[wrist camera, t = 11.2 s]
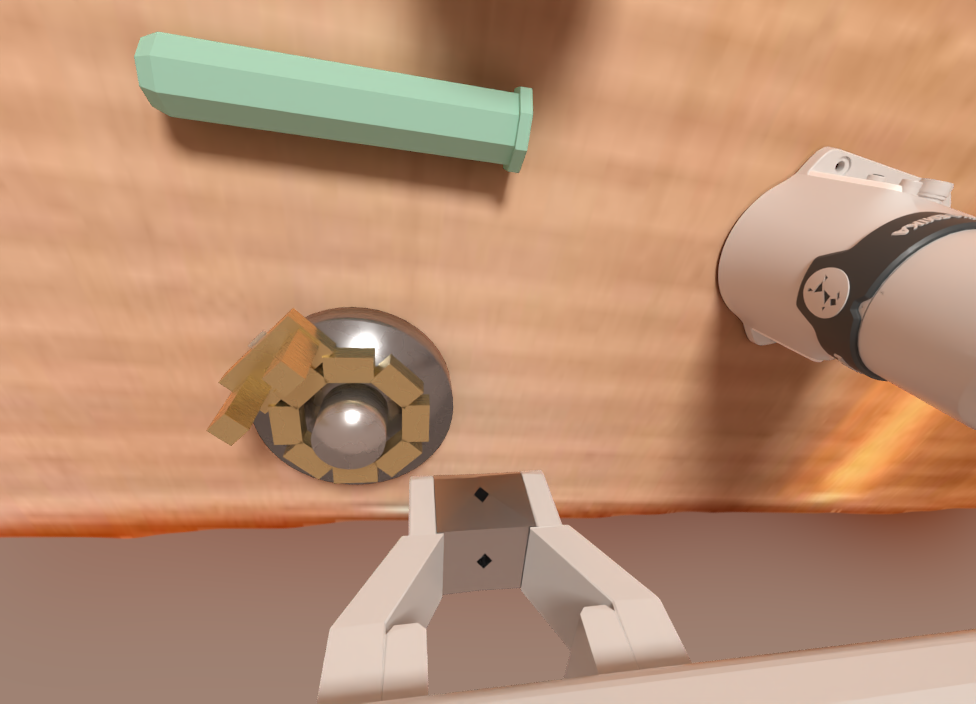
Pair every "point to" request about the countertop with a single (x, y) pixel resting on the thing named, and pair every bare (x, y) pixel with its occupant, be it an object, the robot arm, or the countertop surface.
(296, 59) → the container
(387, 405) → the grey round piece
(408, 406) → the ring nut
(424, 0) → the countertop surface
